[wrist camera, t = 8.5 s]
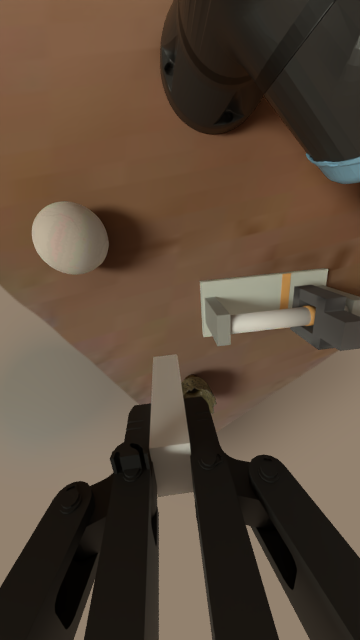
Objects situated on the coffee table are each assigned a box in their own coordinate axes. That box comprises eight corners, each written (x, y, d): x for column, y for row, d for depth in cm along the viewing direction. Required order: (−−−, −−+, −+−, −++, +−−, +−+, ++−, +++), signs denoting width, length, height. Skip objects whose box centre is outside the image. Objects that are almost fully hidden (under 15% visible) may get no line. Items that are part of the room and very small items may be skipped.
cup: (179, 363, 49) (183, 386, 41) (212, 369, 50) (221, 393, 42) (170, 391, 51) (172, 419, 44) (202, 396, 52) (209, 424, 45)
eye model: (58, 194, 36) (23, 181, 27) (121, 221, 38) (109, 218, 29) (45, 255, 39) (9, 263, 30) (104, 277, 41) (88, 291, 32)
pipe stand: (202, 334, 47) (215, 363, 36) (199, 281, 43) (212, 296, 32) (316, 321, 48) (359, 345, 38) (324, 268, 44) (374, 279, 34)
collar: (290, 329, 42) (337, 363, 31) (294, 286, 39) (348, 307, 28) (305, 327, 42) (358, 361, 31) (311, 284, 39) (371, 305, 28)
